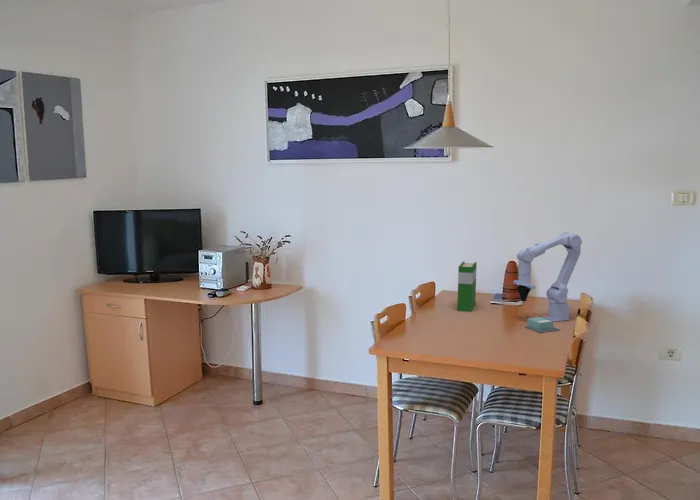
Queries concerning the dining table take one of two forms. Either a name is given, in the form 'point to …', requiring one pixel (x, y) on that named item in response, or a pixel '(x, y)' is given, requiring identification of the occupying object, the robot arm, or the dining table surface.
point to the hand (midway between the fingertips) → (523, 300)
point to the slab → (540, 323)
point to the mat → (542, 330)
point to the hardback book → (466, 286)
